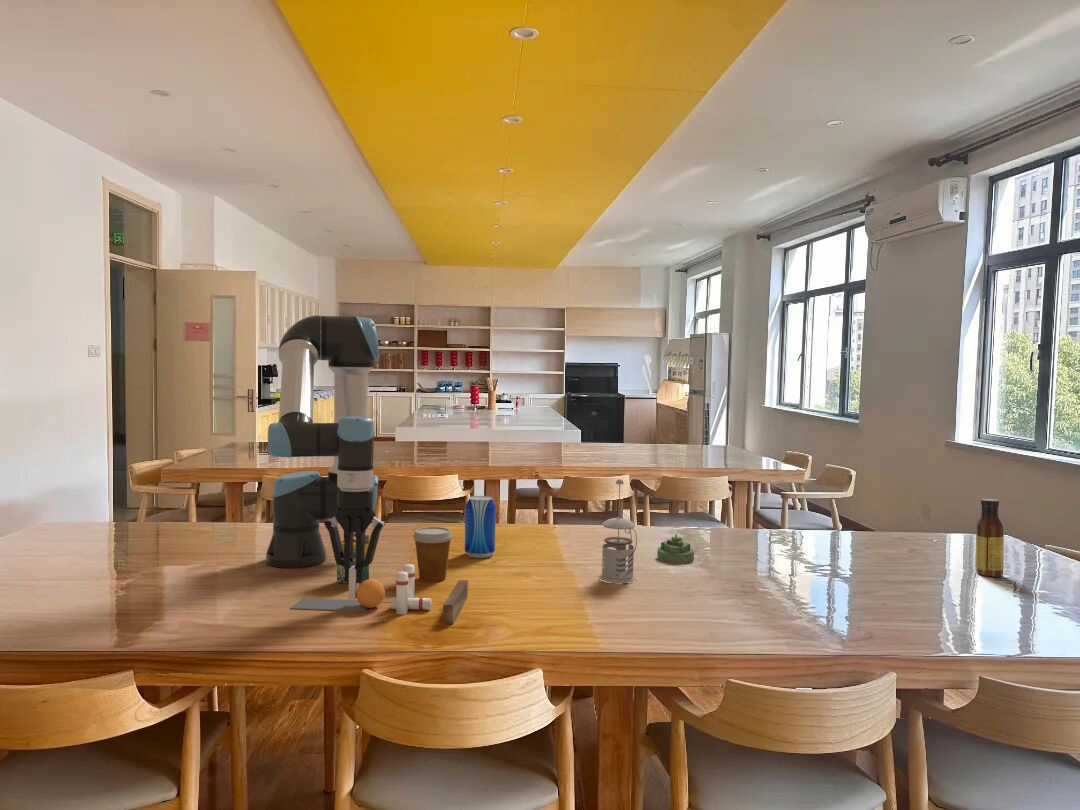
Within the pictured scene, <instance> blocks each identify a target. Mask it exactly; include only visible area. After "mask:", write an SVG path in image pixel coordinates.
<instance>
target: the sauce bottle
mask: <svg viewBox="0 0 1080 810" xmlns="http://www.w3.org/2000/svg"><path fill="white" fill-rule="evenodd" d="M980 505H981V517H980V518H979V519H978V520H977V522H976V534H975V536H976V537H975V540H976V541H975V543H976V544H975V545H976V546H975V568H976V573H977V574H978V575H980V576H984V577H990V578H999V577H1000V578H1001V577H1002V576H1003V574H1004V568H1005V567H1004V566H1005V565H1004V556H1005V555H1004V553H1005V552H1004V550H1005V549H1004V544H1005V543H1004V526H1003V524H1002V522H1001V520H1000V518H999V506H1000V500H999V499H995V498H981V500H980Z"/></svg>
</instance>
